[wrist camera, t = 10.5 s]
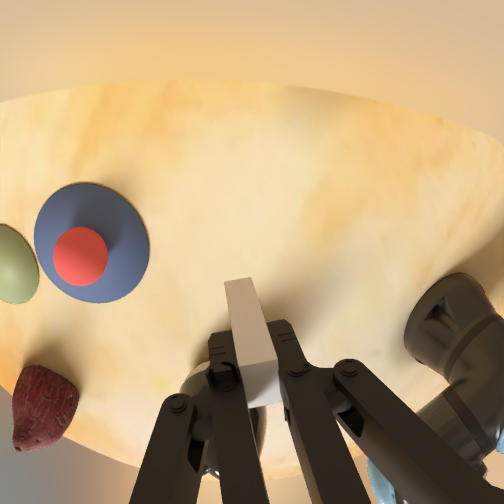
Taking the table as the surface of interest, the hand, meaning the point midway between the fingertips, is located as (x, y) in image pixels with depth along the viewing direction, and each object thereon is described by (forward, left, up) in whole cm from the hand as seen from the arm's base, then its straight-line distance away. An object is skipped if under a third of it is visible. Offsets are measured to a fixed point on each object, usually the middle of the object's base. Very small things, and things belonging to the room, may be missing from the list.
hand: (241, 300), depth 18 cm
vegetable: (+30, +20, -14) cm, 39 cm away
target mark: (+14, 0, -14) cm, 20 cm away
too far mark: (+26, 0, -14) cm, 29 cm away
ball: (+14, 0, -11) cm, 18 cm away
